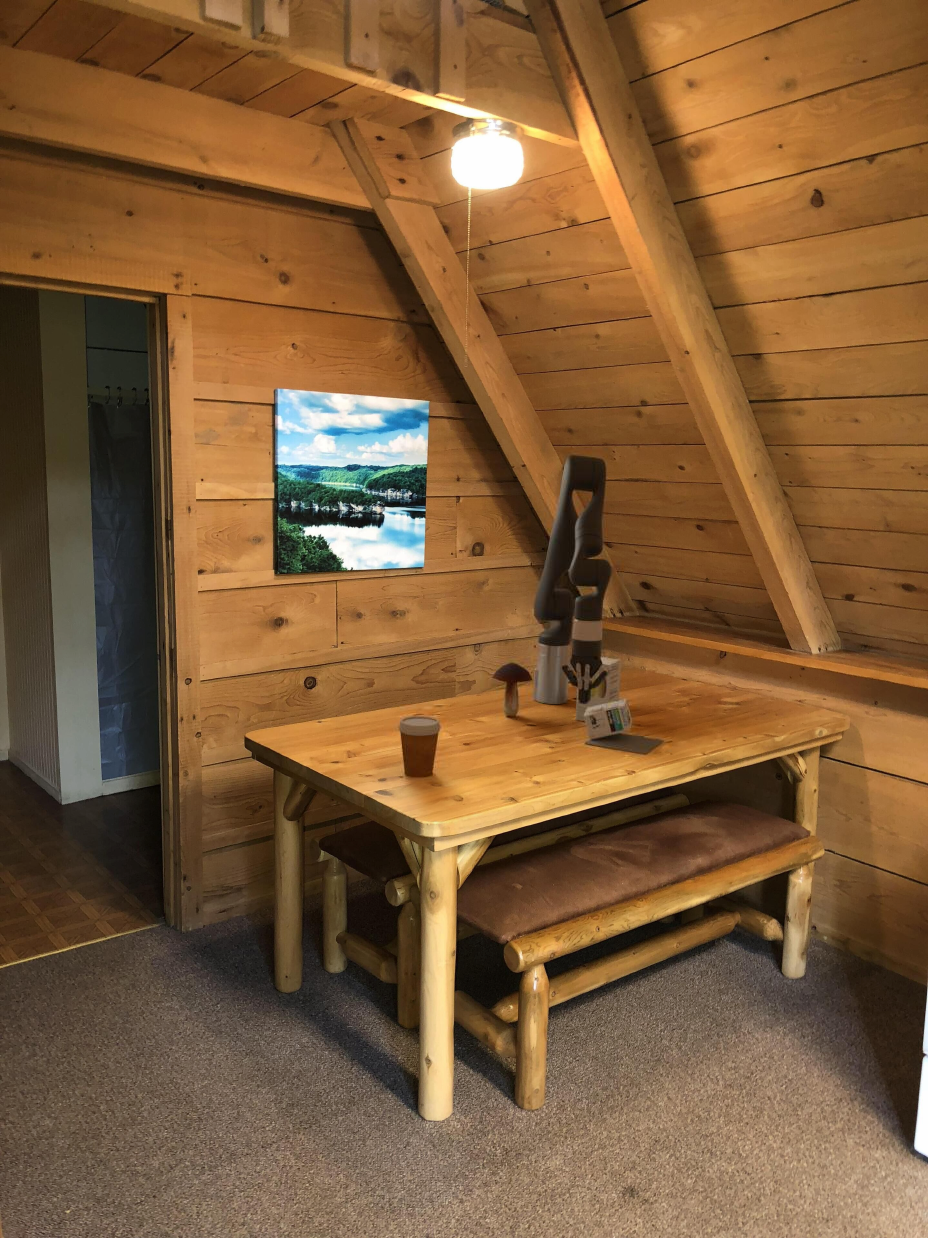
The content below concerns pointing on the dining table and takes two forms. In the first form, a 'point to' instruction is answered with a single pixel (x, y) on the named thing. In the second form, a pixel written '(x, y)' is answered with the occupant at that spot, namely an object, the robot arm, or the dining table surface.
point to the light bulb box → (608, 719)
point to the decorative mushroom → (511, 685)
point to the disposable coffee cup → (419, 744)
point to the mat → (626, 743)
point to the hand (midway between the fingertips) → (584, 703)
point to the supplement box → (603, 687)
